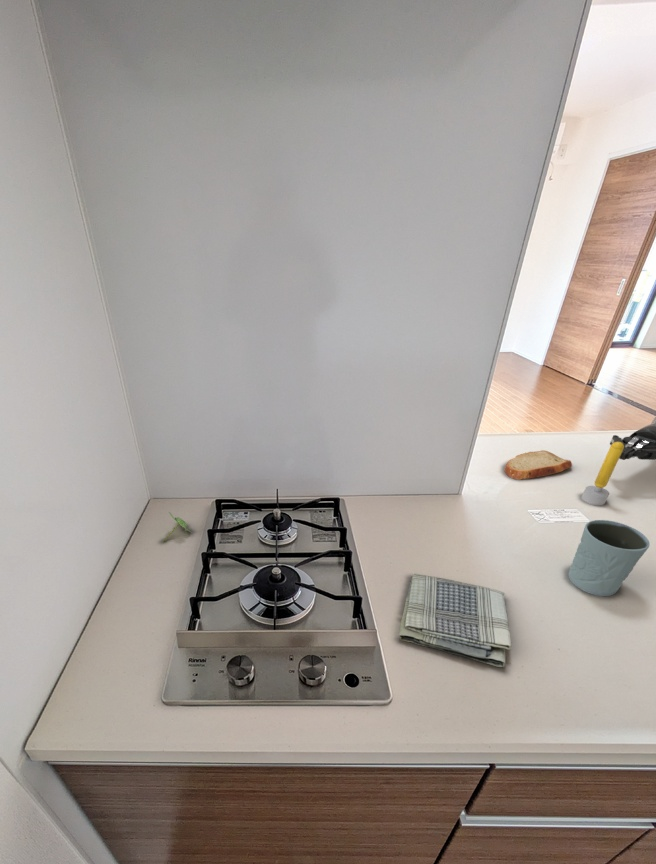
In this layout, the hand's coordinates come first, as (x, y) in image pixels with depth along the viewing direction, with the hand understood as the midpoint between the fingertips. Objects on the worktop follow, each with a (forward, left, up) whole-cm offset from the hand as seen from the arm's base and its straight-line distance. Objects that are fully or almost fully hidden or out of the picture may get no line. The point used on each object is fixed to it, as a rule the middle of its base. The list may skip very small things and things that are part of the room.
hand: (622, 455), depth 111 cm
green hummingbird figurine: (+94, +65, -11) cm, 115 cm away
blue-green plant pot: (+6, +42, -11) cm, 44 cm away
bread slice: (+16, -7, -11) cm, 21 cm away
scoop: (+3, +6, -11) cm, 13 cm away
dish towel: (+30, +65, -11) cm, 72 cm away
